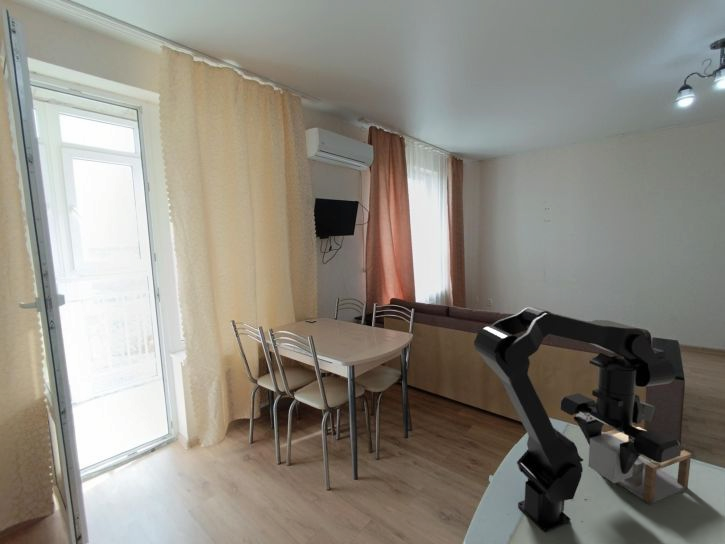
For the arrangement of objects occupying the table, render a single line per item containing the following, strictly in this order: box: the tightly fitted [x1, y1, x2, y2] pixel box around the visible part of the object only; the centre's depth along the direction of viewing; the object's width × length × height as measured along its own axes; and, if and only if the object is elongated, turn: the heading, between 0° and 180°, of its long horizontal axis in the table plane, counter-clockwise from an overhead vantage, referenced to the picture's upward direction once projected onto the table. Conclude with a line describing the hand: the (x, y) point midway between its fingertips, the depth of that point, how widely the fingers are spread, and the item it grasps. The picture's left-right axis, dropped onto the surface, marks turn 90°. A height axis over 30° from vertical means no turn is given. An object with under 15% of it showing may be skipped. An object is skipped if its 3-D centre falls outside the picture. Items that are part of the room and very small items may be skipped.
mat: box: [617, 456, 686, 505], centre depth 72 cm, size 12×11×1 cm
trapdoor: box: [613, 426, 652, 487], centre depth 71 cm, size 13×8×6 cm, turn 109°
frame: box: [601, 425, 692, 505], centre depth 71 cm, size 12×11×8 cm
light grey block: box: [588, 433, 633, 484], centre depth 65 cm, size 5×5×6 cm
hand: (610, 463), depth 65 cm, fingers closed on light grey block, 5 cm apart
